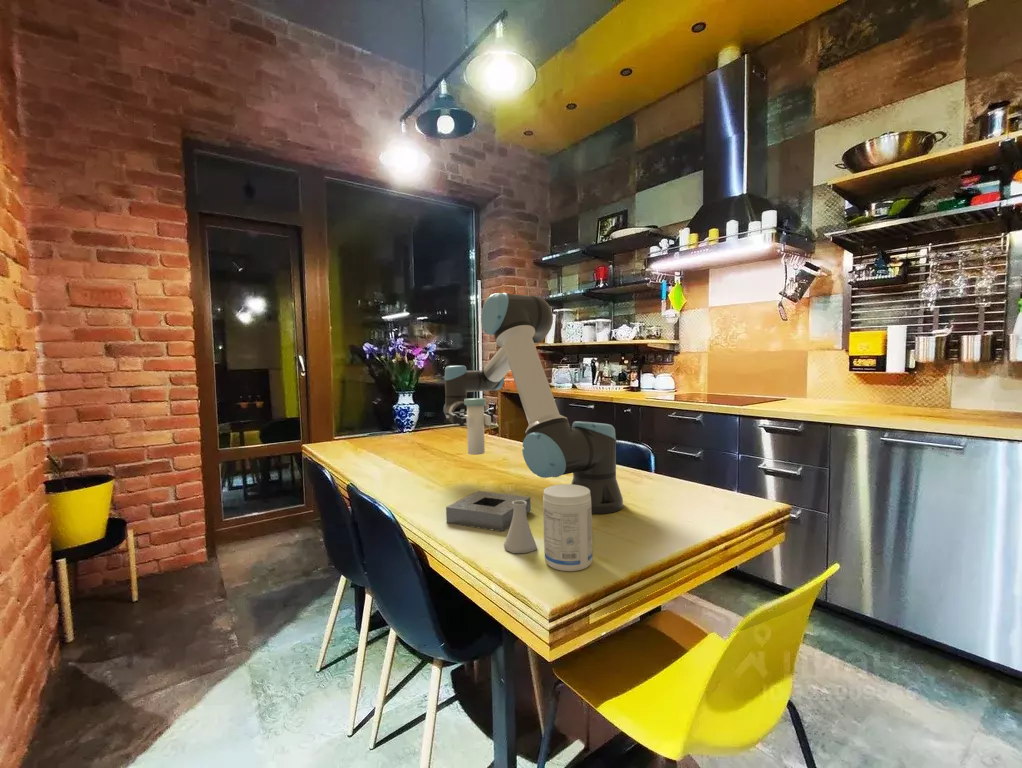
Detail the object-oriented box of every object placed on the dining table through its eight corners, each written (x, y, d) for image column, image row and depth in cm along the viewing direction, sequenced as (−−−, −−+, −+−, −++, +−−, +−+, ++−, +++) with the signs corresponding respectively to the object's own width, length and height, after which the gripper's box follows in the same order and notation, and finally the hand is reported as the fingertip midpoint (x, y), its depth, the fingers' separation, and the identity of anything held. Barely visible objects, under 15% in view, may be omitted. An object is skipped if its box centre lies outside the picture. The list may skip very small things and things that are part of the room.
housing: (530, 512, 127) (530, 497, 127) (502, 531, 113) (502, 515, 113) (478, 504, 134) (478, 490, 134) (446, 522, 120) (446, 506, 120)
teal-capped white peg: (491, 451, 142) (489, 398, 141) (480, 455, 137) (478, 400, 136) (472, 450, 145) (471, 398, 144) (461, 454, 139) (459, 399, 139)
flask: (511, 557, 98) (510, 509, 98) (498, 545, 105) (497, 500, 104) (543, 550, 101) (542, 504, 101) (528, 539, 108) (527, 495, 107)
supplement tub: (567, 549, 102) (566, 481, 101) (602, 563, 94) (601, 489, 94) (534, 562, 95) (532, 489, 95) (568, 578, 88) (567, 499, 87)
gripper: (488, 422, 160) (510, 432, 138) (435, 426, 155) (449, 436, 133) (488, 400, 160) (509, 406, 138) (434, 403, 154) (448, 409, 132)
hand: (480, 421), depth 135 cm, fingers closed on teal-capped white peg, 5 cm apart
